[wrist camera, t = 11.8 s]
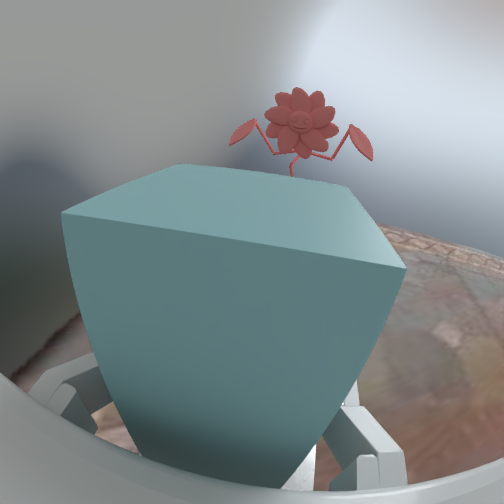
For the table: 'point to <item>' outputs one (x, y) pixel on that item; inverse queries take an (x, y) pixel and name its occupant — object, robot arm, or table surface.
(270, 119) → the figurine
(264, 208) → the teal block
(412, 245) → the table surface
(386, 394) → the table surface
